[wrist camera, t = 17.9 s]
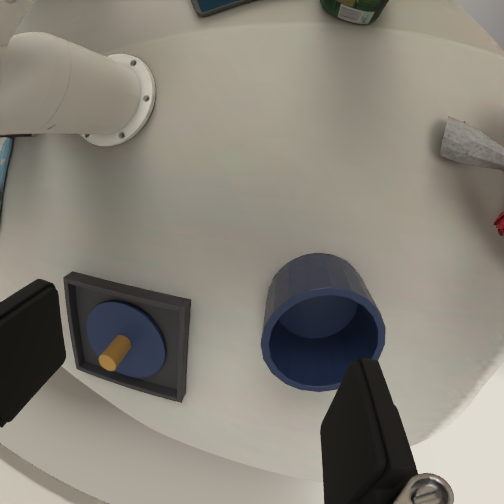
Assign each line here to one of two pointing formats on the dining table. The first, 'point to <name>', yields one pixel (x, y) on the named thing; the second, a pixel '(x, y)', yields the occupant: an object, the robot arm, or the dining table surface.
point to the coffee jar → (355, 9)
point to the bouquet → (472, 151)
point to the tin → (319, 322)
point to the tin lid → (125, 339)
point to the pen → (4, 162)
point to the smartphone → (214, 5)
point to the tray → (155, 307)
